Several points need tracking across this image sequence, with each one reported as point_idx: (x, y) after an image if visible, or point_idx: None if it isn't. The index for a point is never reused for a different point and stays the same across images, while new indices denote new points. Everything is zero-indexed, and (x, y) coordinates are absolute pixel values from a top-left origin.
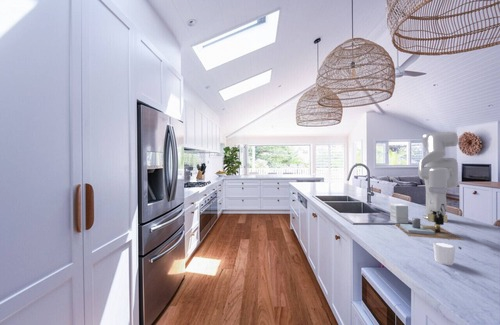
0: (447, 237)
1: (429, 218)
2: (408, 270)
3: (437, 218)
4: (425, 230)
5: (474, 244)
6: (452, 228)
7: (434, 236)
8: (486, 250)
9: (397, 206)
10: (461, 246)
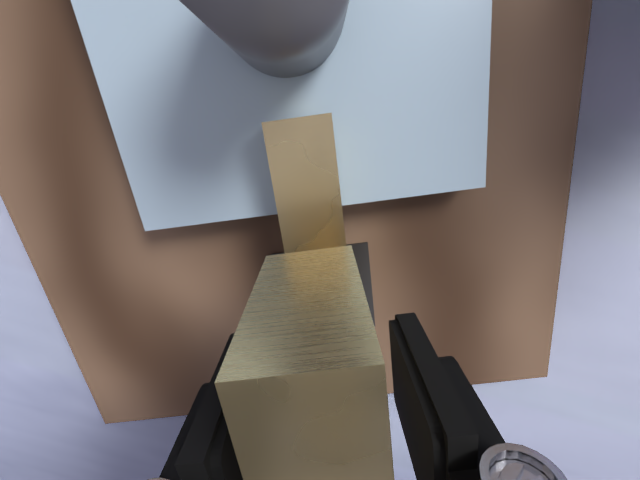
0: (111, 315)
1: (273, 288)
2: None
3: (193, 446)
4: (149, 120)
5: (135, 446)
6: (594, 457)
7: (64, 192)
8: (19, 461)
9: None
10: (2, 347)
